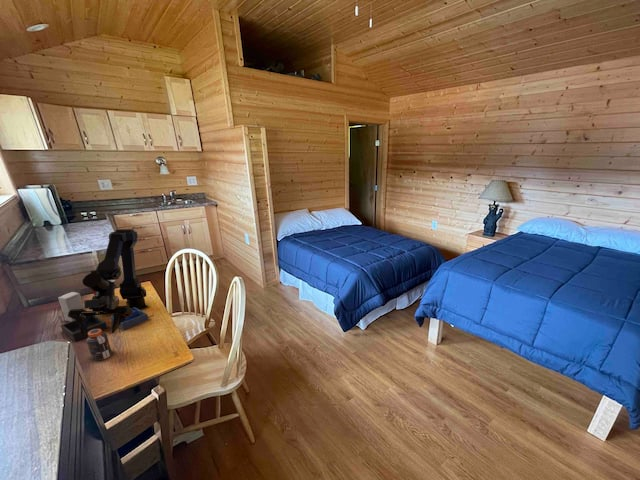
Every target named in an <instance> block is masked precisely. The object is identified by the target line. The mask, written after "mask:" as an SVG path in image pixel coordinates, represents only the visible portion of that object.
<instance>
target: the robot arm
mask: <svg viewBox="0 0 640 480" xmlns="http://www.w3.org/2000/svg"><path fill="white" fill-rule="evenodd" d="M138 237H139V236H138V232H137V231H135V229H133V228H117V229H115V231H111V232H110V233H109V234H108V243H107V246H106V250H105V253H104V257H103V260H101V261H100V262H99V263H98V264H97V266H96V268H95V270H90V273H88V274H86V275H85V276H84V277H83V278H82V285H84V287H86V288H88V289H89V290H90V291H91V290H93V291H95V295H92V297H91V299H84V300H83V306H84V309H71V310H70V311H69V312H68V317H70V318H72V319H74V320H76V321H77V322H78V324H79V327H80V331H81V334H82V336H85V334H86V331H87V327H88V322H89V320H88V319H87V318H88V317H89V316H94V315H95V316H103V315H108V314H112V315H113V316H114V320H113V323H112V325H111V334H115V332H116V331H117V330H118V328H120V327H119V325H120V324H121V323H122V322H123V321H124V319H125V318H128V316H132V313H133V311H132V309H131V308H134V307H136V308H138V309H139V310H141V311H142V310H144V309H147V308H148V307H149V306H148V305H146V301H145V298H146V297H147V295H148V294H147V289H146V288H145V287H143V286H142V282H141V281H140V280H139V279H138V278H137V272H136V271H137V270H136V262H135V260H136V259H135V251H134V248H135V246H136V244H137V243H138ZM120 258H121V265H122V268H121V267H120V265H119V262H120ZM121 269H122V270H121ZM122 275H123V280H122V281H121V282H120V283H119V292H118V293H119V295H120V297H121V298H122V300H126V301H125V305H118V306H116V307H115V309H112V304H113V302H114V301H115V300H114V299H113V297H114V291H116V290H115V289H117V285H116V284H115V282H111V281H108V280H115V281H117V280H118V279H120V277H121V276H122ZM87 309H88V310H87ZM104 312H105V313H104Z"/></svg>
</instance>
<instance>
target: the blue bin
mask: <svg viewBox="0 0 640 480" xmlns="http://www.w3.org/2000/svg"><path fill="white" fill-rule="evenodd" d="M131 309H132V310H136V311H137V314H138V317H136V318H133V319H131V320H128V321H125V322H122V323H121V324H120V325H119V327H118V328H119V329H121V330H122V331H126V330H128V329H131V328H133V327H136V326H138V325H140V324H143V323H145V322H148V321H149V316H148V312H145V311H143V310H142V309H141V310H139V309H138V308H136V307H134V308H131ZM109 316H110V320H111V323H112V324H113V320H114V316H113V314H112V315H109Z"/></svg>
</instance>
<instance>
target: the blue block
mask: <svg viewBox="0 0 640 480" xmlns="http://www.w3.org/2000/svg"><path fill="white" fill-rule="evenodd" d="M132 311H133V313H132V316H128V318H125V319H124V321H123V322H125V321H128V320H131V319H133V318H136V317H138V314H137V311H136V310H132Z"/></svg>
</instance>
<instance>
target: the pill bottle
mask: <svg viewBox="0 0 640 480" xmlns="http://www.w3.org/2000/svg"><path fill="white" fill-rule="evenodd" d="M85 340H86V344H87V347H88V351H89V354H90V356H91V359H92V360H93V361H102V360H106V359H107V358H110V357H111V356H112V354H113V352H112V349H111V345H110V342H109V338H108V335H107V333H105V332H103V331H102V330H101V329H94V330H91V331H89V332H88V337H86V339H85Z"/></svg>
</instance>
